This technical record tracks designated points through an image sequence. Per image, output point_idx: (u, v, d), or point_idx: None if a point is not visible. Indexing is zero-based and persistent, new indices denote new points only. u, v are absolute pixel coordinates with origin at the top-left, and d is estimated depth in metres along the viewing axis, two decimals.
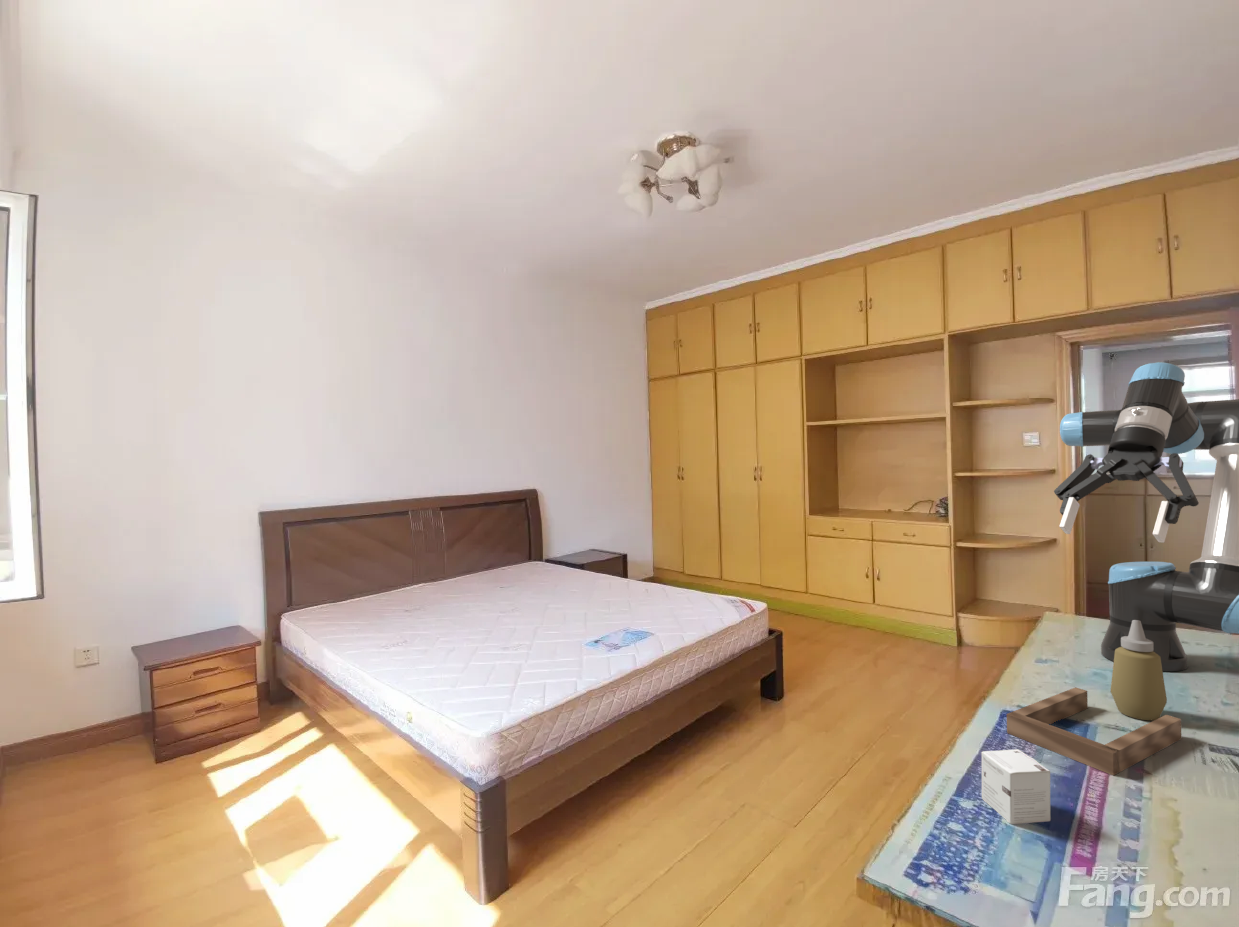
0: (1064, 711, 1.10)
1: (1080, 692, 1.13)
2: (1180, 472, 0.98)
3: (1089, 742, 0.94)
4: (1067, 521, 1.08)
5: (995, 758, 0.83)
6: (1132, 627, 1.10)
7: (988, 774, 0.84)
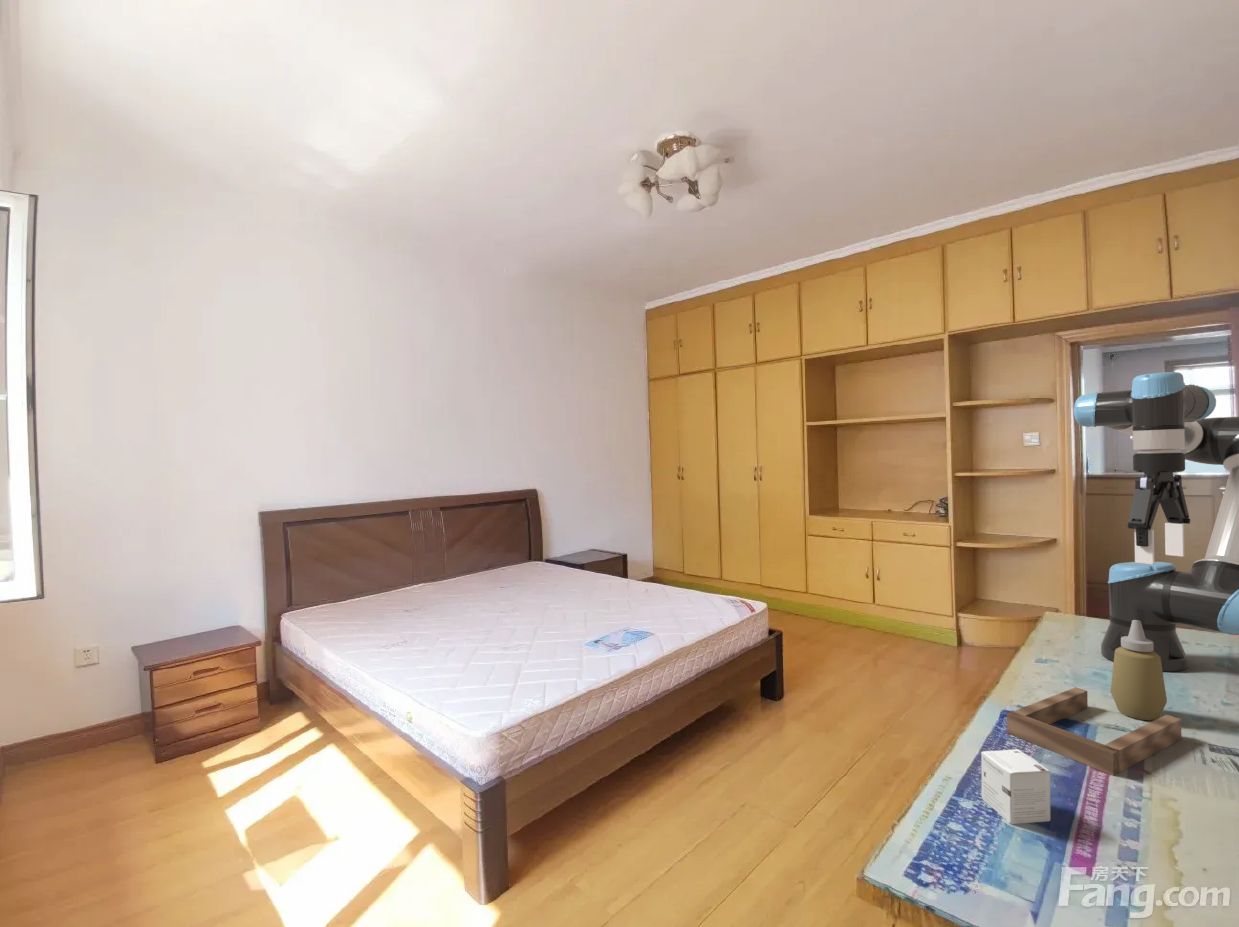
0: (1064, 711, 1.10)
1: (1080, 692, 1.13)
2: (1133, 498, 1.11)
3: (1089, 742, 0.94)
4: (1169, 547, 1.18)
5: (995, 757, 0.84)
6: (1132, 627, 1.10)
7: (988, 774, 0.84)
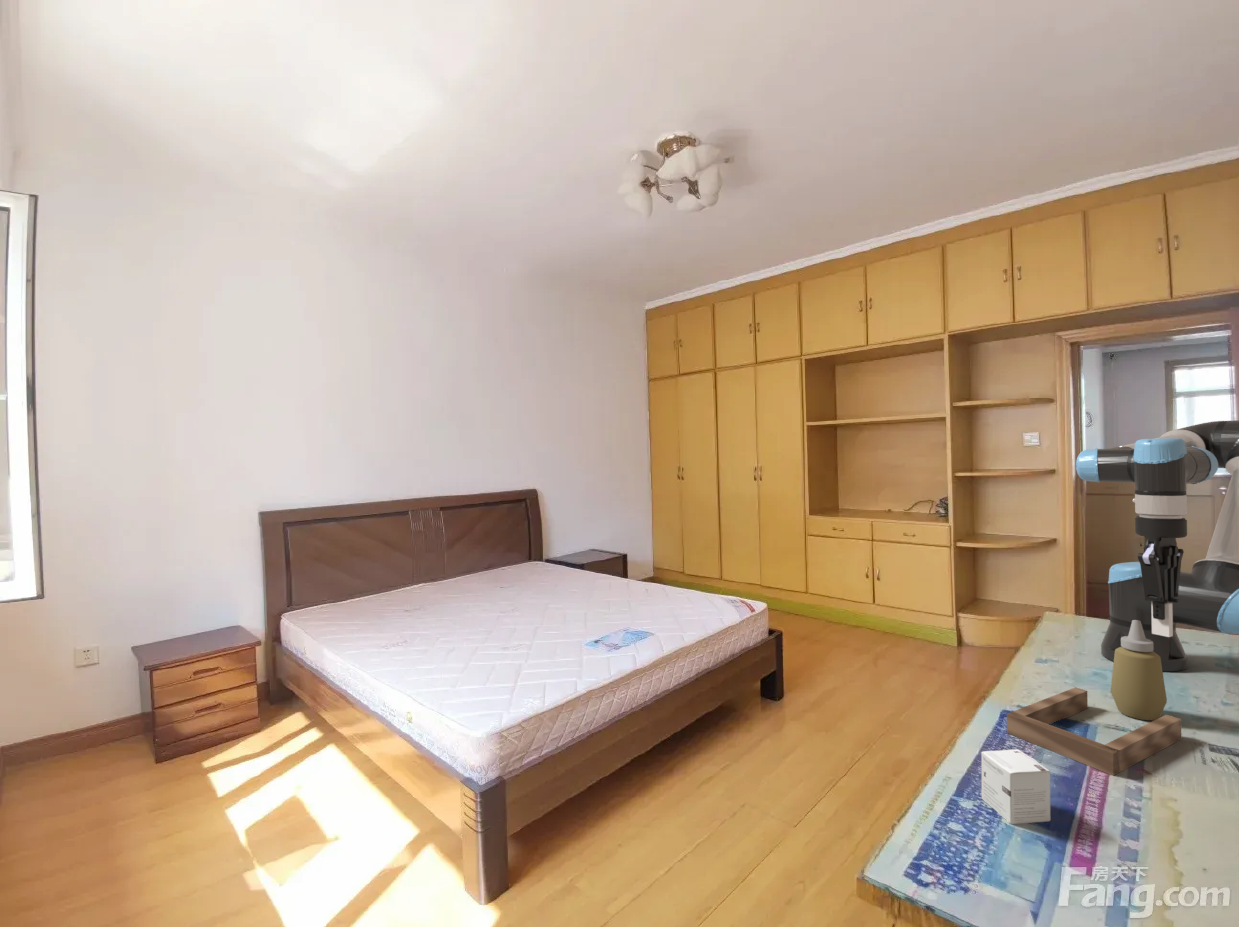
0: (1064, 711, 1.10)
1: (1080, 692, 1.13)
2: (1142, 573, 1.13)
3: (1089, 742, 0.94)
4: None
5: (995, 757, 0.84)
6: (1132, 627, 1.10)
7: (988, 774, 0.84)
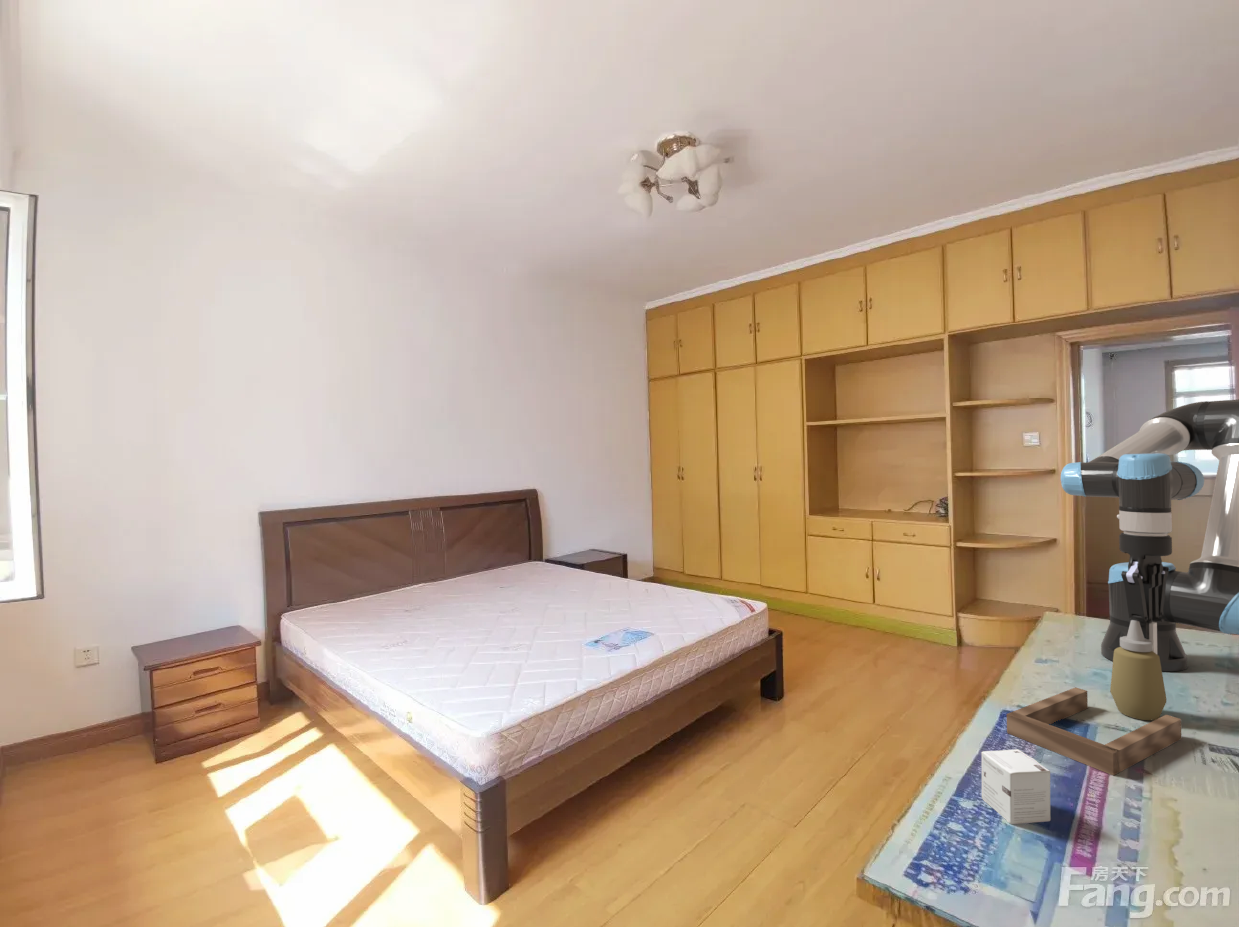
0: (1064, 711, 1.10)
1: (1080, 692, 1.13)
2: (1126, 592, 1.10)
3: (1089, 742, 0.94)
4: None
5: (995, 758, 0.83)
6: (1131, 627, 1.10)
7: (988, 774, 0.84)
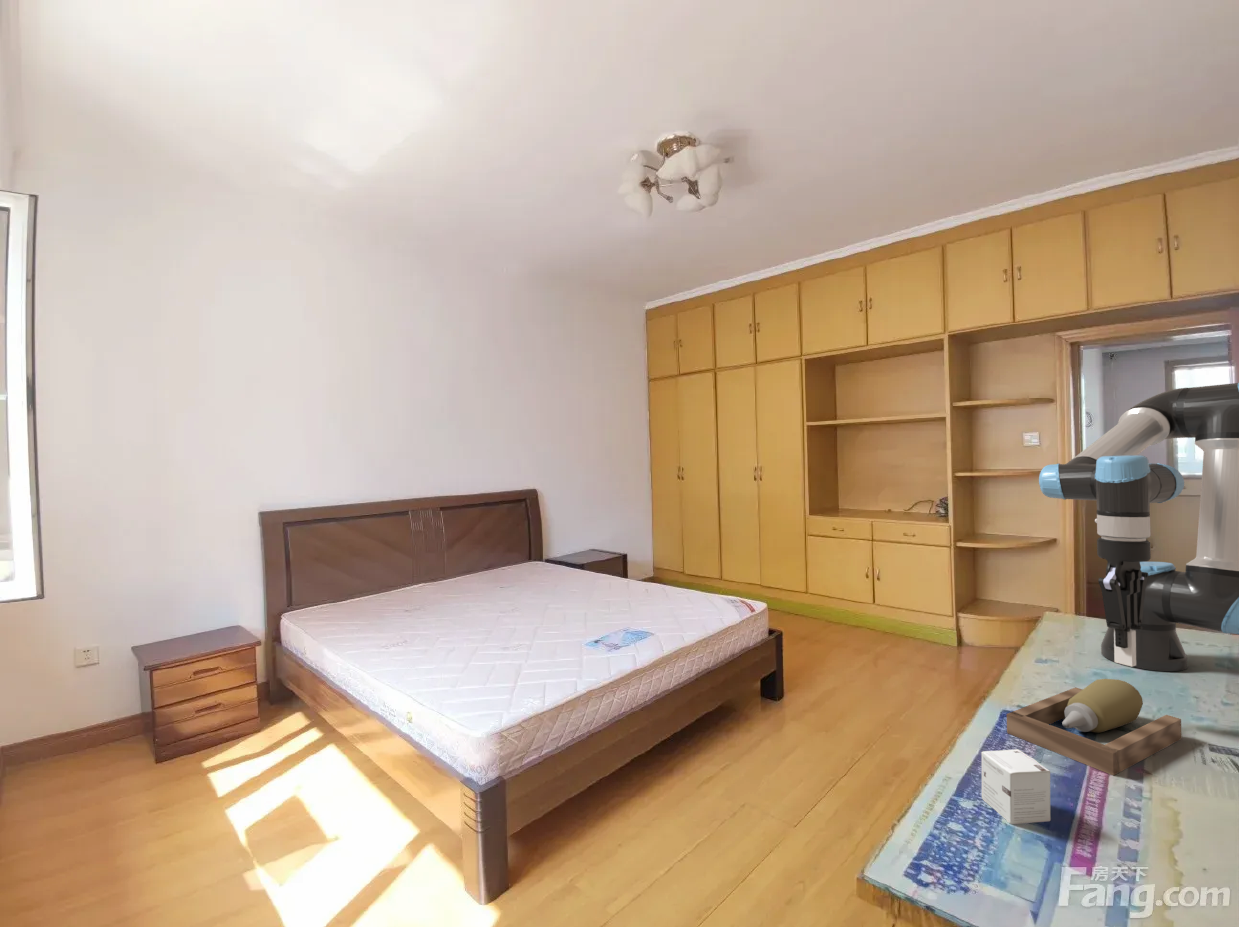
0: None
1: None
2: (1103, 599, 1.07)
3: (1089, 742, 0.94)
4: None
5: (995, 758, 0.83)
6: None
7: (988, 774, 0.84)
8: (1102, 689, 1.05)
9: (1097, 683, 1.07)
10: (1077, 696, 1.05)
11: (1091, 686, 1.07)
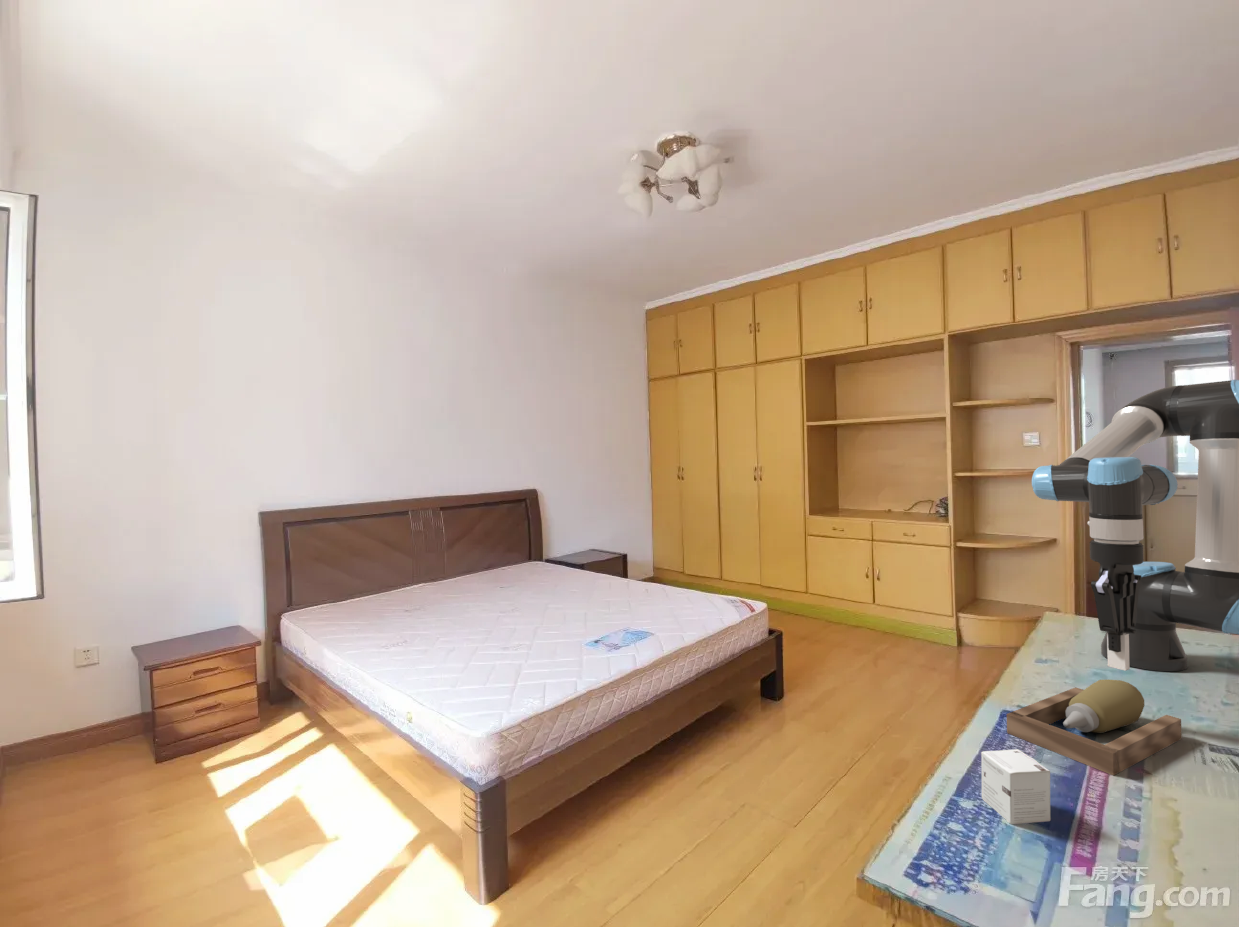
0: (1064, 711, 1.10)
1: None
2: (1096, 602, 1.06)
3: (1089, 742, 0.94)
4: None
5: (995, 757, 0.84)
6: None
7: (988, 774, 0.84)
8: (1105, 691, 1.05)
9: (1100, 684, 1.07)
10: (1079, 696, 1.05)
11: (1094, 686, 1.07)
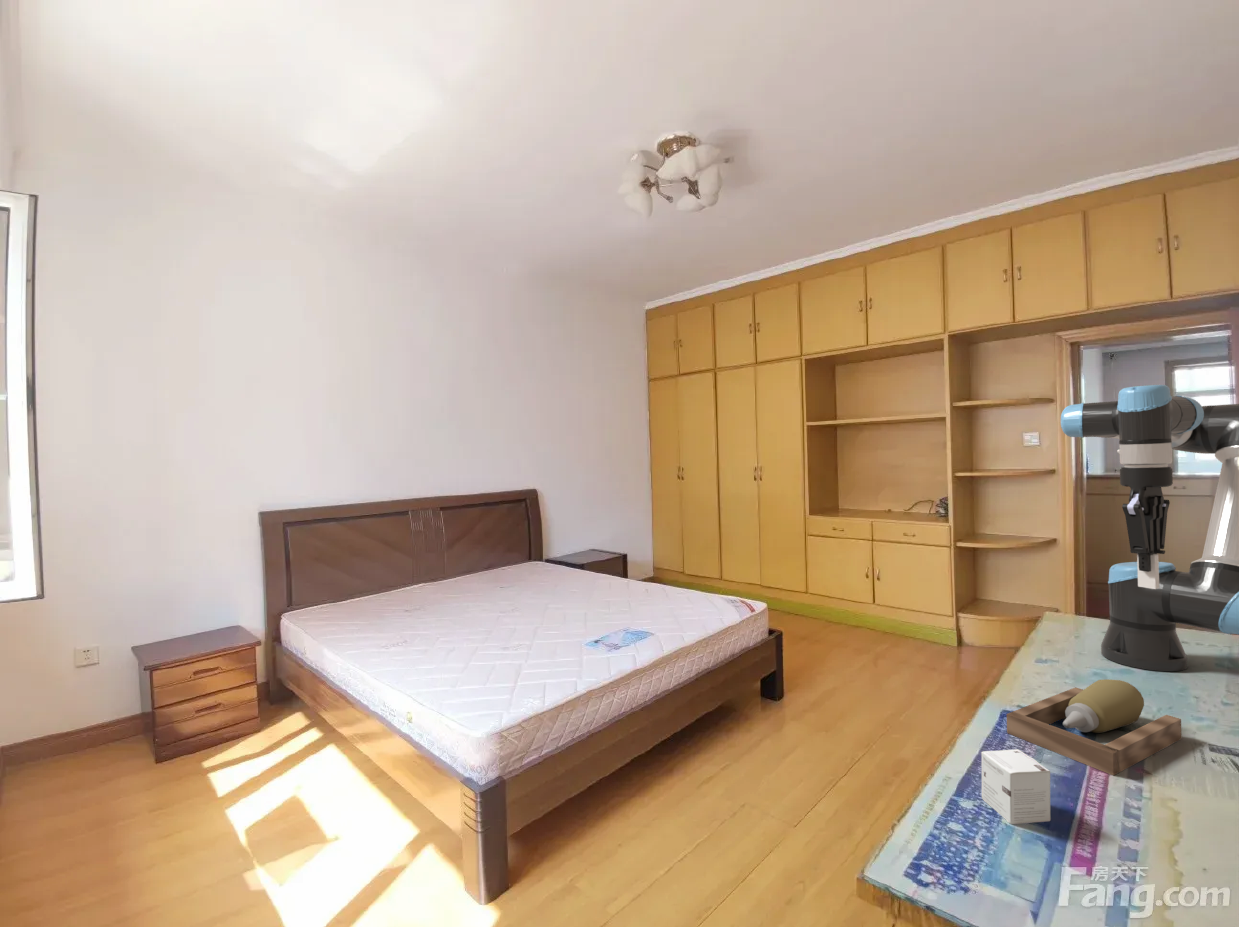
0: (1064, 711, 1.10)
1: None
2: (1127, 524, 1.11)
3: (1089, 742, 0.94)
4: None
5: (995, 758, 0.83)
6: None
7: (988, 774, 0.84)
8: (1104, 690, 1.05)
9: (1099, 683, 1.07)
10: (1079, 696, 1.05)
11: (1093, 686, 1.07)
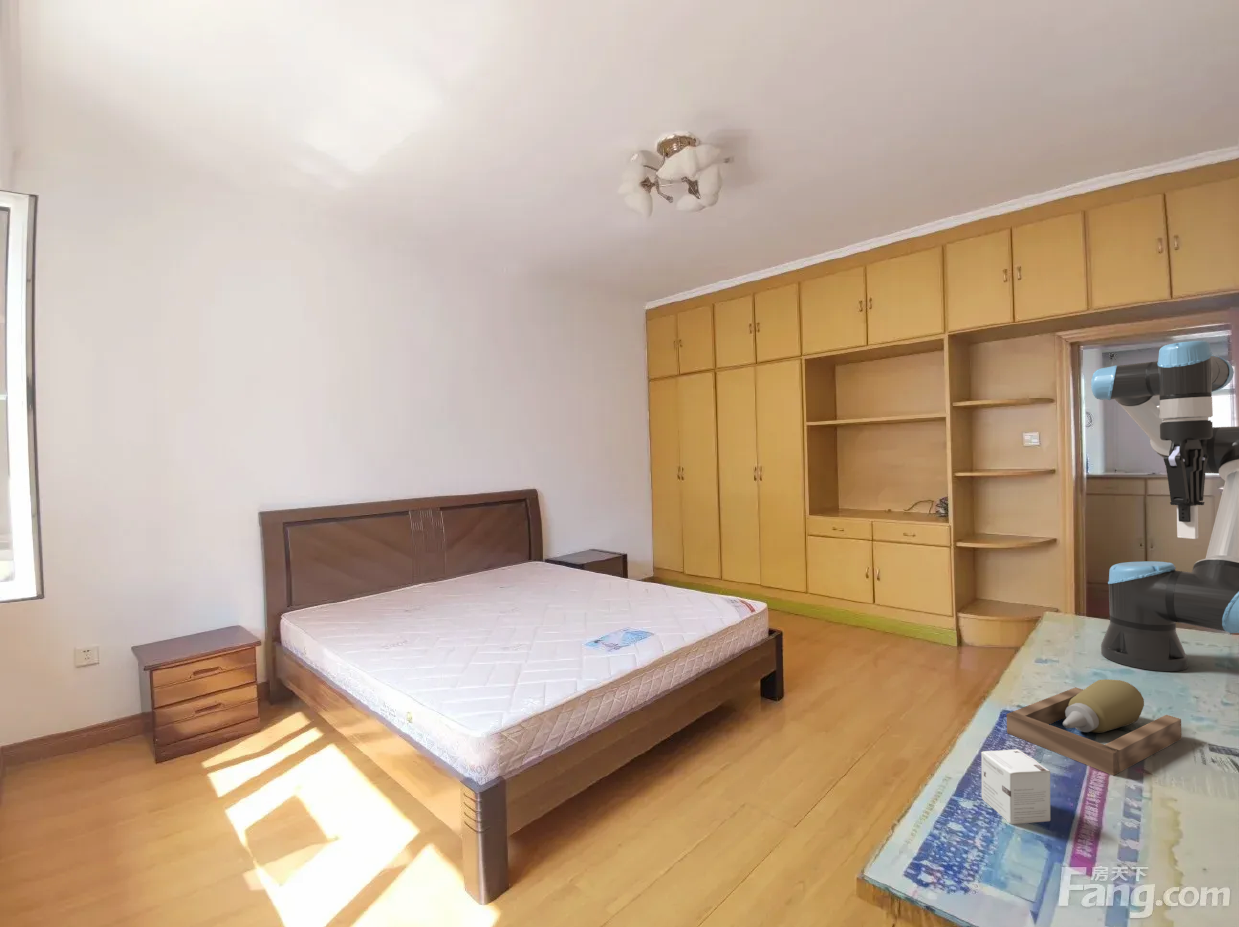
0: (1064, 711, 1.10)
1: None
2: (1168, 476, 1.14)
3: (1089, 742, 0.94)
4: None
5: (995, 757, 0.84)
6: None
7: (988, 774, 0.84)
8: (1104, 690, 1.05)
9: (1099, 683, 1.07)
10: (1079, 696, 1.05)
11: (1093, 686, 1.07)
